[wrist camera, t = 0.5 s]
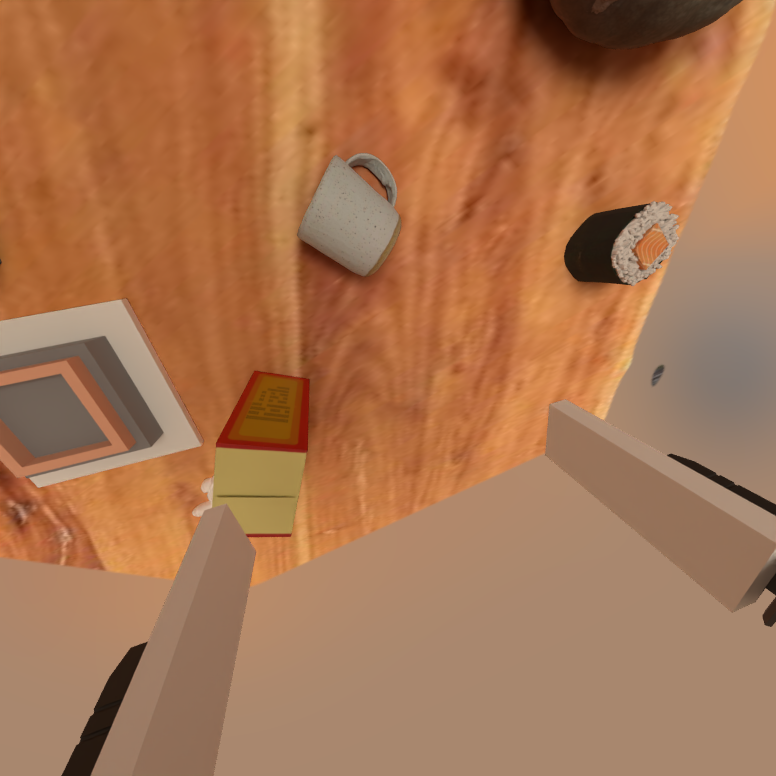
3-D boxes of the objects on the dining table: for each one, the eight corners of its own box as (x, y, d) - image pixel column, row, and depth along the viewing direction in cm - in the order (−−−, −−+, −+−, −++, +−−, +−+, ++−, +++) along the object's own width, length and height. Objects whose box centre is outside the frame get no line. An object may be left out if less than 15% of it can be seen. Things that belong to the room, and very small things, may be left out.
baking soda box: (254, 370, 35) (214, 445, 21) (309, 379, 37) (307, 452, 23) (247, 436, 38) (208, 541, 24) (298, 441, 40) (290, 540, 26)
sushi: (627, 243, 40) (694, 238, 33) (583, 292, 41) (639, 298, 34) (601, 197, 37) (671, 182, 29) (554, 253, 38) (610, 251, 31)
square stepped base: (-87, 336, 26) (-178, 353, 21) (126, 298, 29) (88, 305, 24) (45, 481, 34) (0, 518, 29) (204, 441, 37) (187, 468, 32)
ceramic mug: (362, 280, 34) (376, 284, 27) (296, 239, 30) (292, 230, 24) (409, 192, 31) (437, 171, 25) (343, 136, 28) (353, 94, 21)
